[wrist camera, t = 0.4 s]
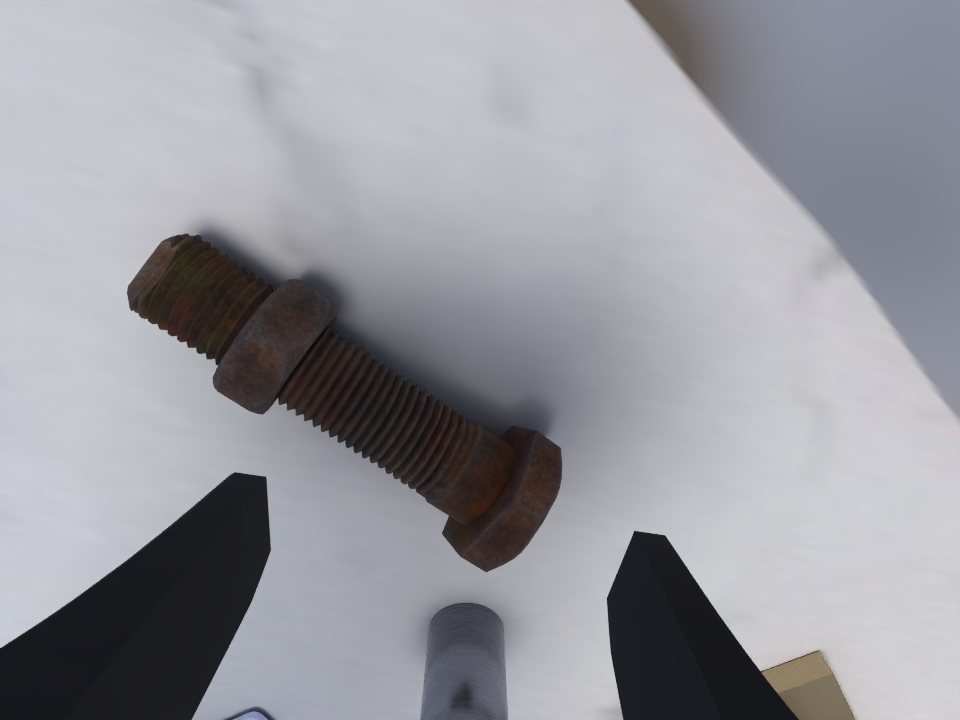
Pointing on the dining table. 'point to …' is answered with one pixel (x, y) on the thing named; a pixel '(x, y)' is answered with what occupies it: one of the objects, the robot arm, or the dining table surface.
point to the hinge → (809, 689)
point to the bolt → (350, 395)
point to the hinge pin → (465, 666)
